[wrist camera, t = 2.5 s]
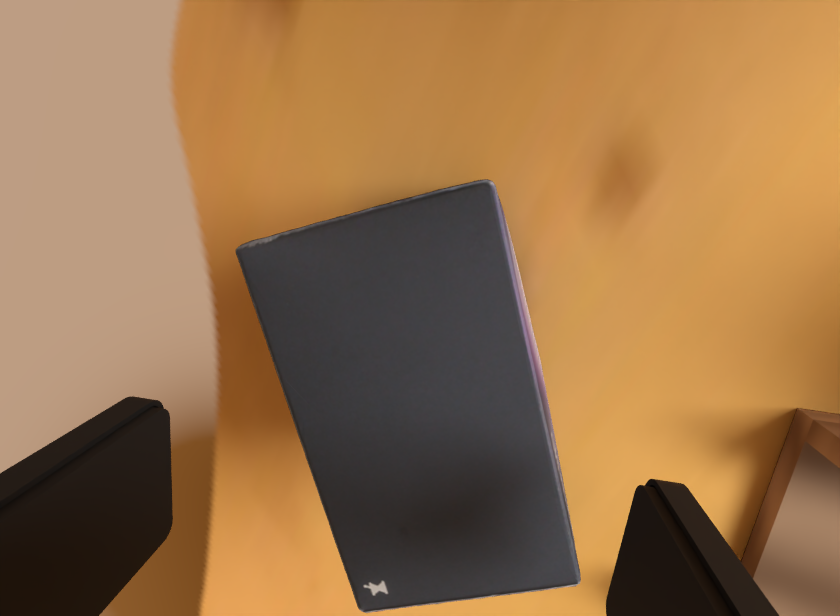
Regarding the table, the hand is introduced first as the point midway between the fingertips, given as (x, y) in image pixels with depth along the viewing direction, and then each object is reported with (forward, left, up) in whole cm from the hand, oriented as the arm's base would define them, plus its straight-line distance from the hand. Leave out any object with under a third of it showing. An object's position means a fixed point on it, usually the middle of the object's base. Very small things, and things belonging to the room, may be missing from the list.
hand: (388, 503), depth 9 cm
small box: (0, 0, -13) cm, 13 cm away
